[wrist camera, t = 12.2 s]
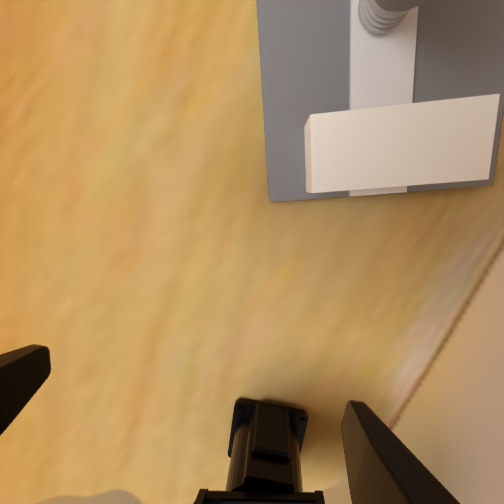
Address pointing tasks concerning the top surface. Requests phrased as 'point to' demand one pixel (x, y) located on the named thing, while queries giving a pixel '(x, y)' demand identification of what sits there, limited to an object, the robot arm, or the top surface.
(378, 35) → the rail board
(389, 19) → the light bulb
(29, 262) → the top surface
